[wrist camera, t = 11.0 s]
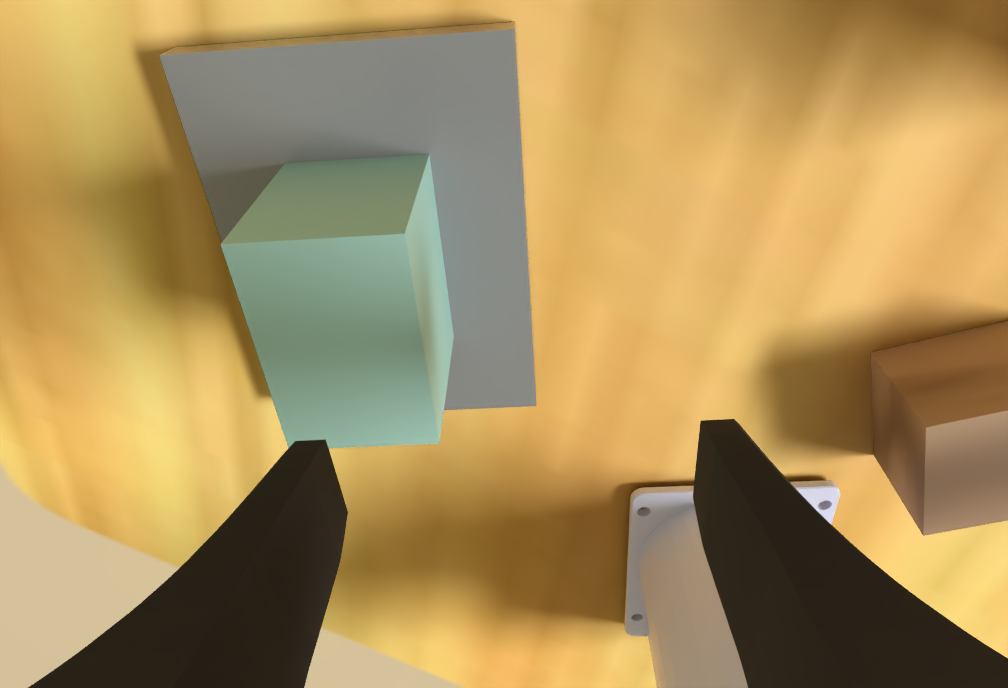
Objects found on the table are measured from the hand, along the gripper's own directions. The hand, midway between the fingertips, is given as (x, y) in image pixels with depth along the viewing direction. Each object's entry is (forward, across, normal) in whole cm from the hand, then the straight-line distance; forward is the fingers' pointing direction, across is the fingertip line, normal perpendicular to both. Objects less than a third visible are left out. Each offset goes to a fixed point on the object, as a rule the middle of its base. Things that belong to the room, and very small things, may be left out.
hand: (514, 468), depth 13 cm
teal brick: (+9, +4, 0) cm, 10 cm away
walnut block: (+10, -15, +7) cm, 19 cm away
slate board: (+10, +4, 0) cm, 10 cm away
